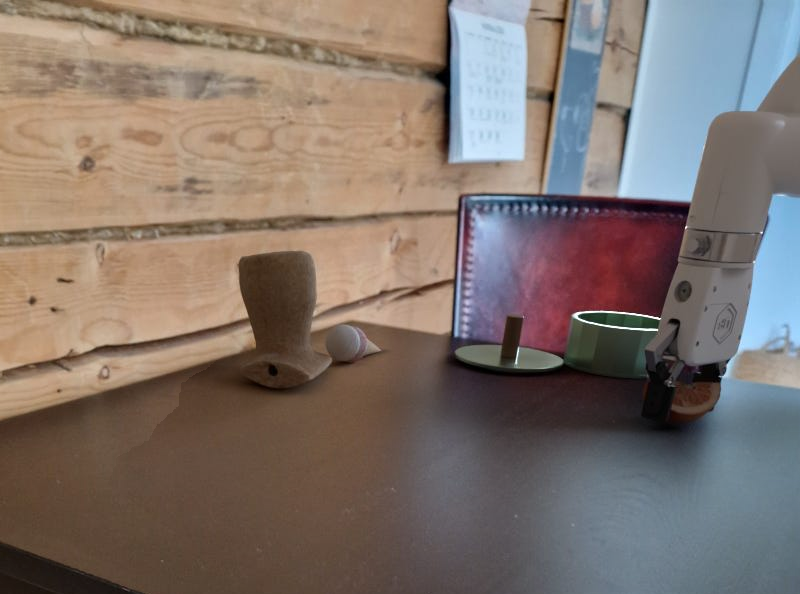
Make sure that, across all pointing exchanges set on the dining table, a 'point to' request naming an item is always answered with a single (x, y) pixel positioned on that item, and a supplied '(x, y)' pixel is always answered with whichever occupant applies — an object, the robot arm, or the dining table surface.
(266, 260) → the brown flared upright piece
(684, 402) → the fruit slice
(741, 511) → the dining table surface
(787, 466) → the dining table surface
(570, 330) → the pan
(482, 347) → the lid
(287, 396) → the dining table surface
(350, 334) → the ice cream cone
